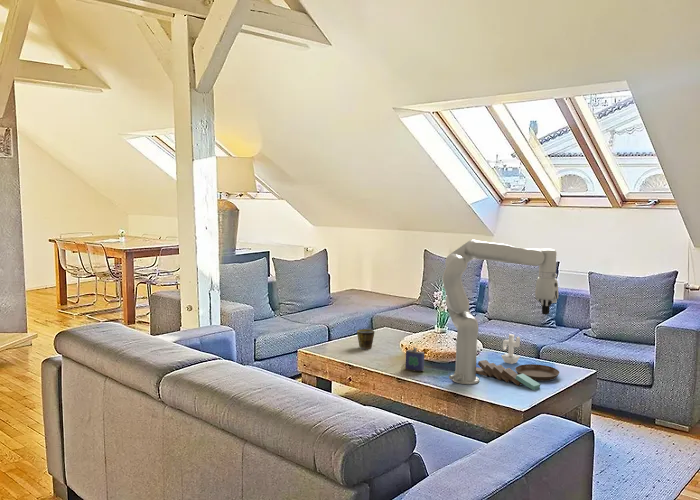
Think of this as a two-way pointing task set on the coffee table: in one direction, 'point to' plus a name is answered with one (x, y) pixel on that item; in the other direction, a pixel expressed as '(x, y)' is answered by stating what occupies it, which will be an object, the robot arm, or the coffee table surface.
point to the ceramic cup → (365, 338)
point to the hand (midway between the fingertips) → (545, 313)
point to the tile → (528, 381)
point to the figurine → (511, 349)
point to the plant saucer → (538, 372)
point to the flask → (414, 360)
